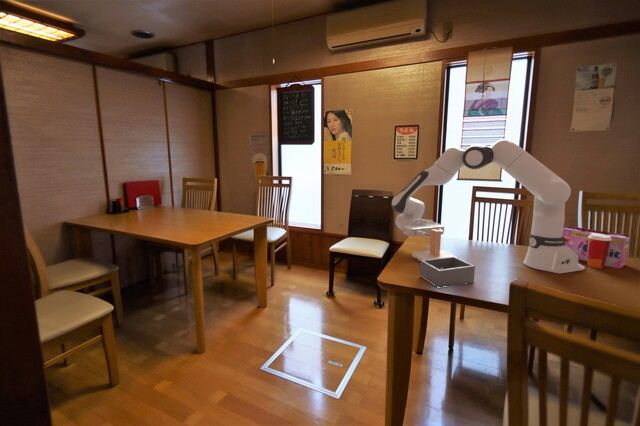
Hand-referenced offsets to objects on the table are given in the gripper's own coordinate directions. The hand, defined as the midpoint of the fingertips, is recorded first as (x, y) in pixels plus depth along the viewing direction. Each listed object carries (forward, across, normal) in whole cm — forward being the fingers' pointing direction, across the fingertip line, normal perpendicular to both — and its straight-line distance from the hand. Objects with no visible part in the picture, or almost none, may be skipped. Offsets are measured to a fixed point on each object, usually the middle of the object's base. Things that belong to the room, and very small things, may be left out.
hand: (433, 233), depth 146 cm
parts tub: (+22, -9, +13) cm, 27 cm away
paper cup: (+30, +62, +12) cm, 70 cm away
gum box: (+23, +69, +13) cm, 74 cm away
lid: (+2, 0, +13) cm, 13 cm away
